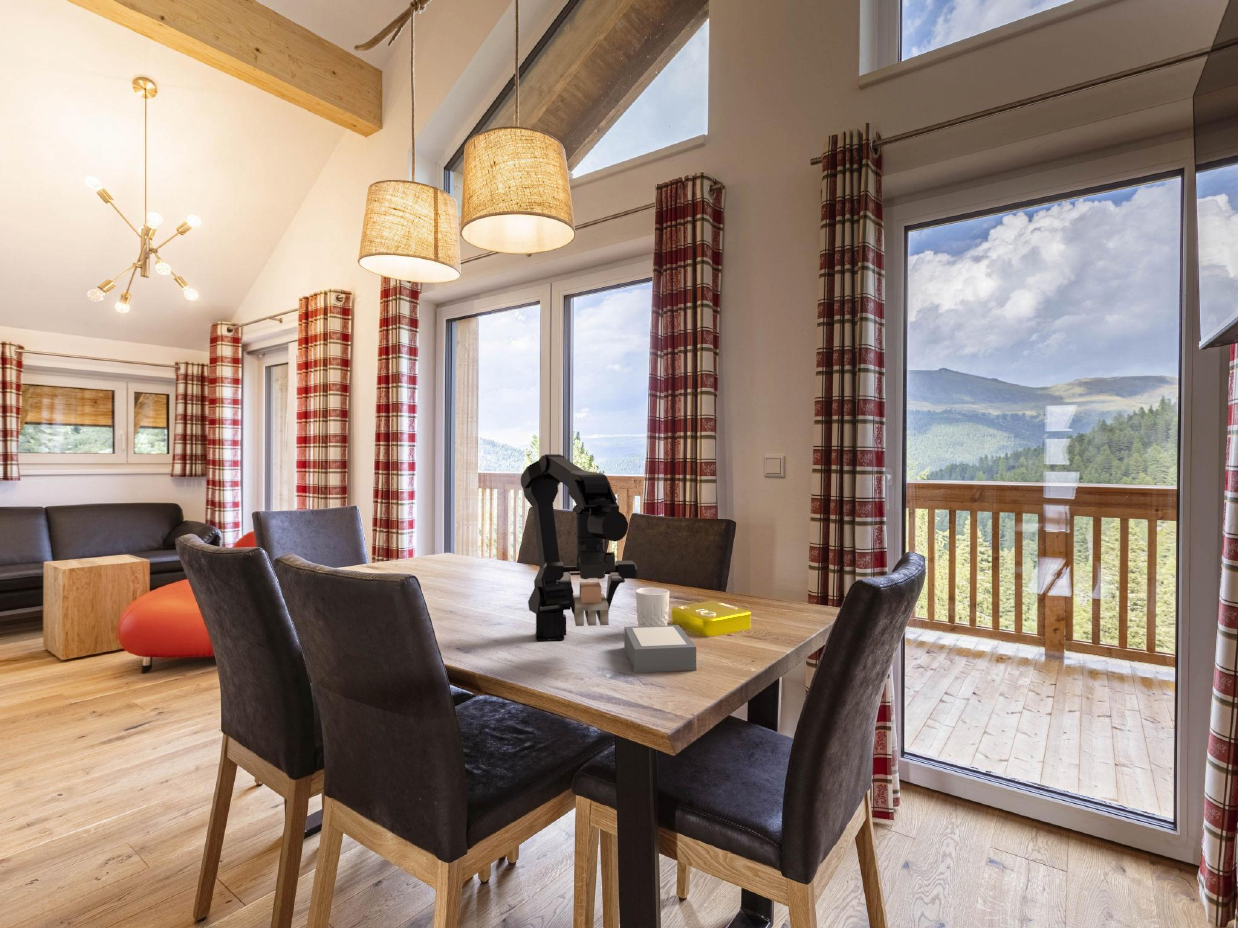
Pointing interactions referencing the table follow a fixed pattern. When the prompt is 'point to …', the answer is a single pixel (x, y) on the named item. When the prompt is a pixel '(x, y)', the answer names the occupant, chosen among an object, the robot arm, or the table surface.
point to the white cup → (652, 606)
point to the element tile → (711, 618)
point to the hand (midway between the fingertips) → (590, 612)
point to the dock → (659, 648)
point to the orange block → (590, 592)
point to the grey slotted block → (591, 611)
